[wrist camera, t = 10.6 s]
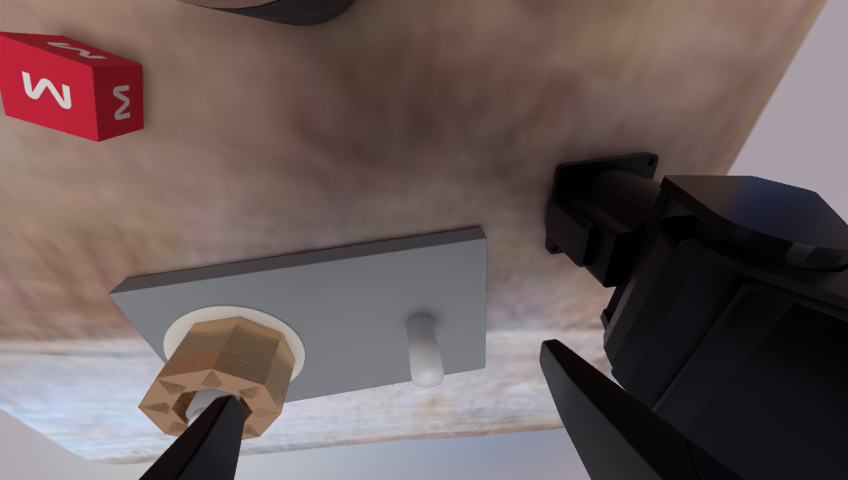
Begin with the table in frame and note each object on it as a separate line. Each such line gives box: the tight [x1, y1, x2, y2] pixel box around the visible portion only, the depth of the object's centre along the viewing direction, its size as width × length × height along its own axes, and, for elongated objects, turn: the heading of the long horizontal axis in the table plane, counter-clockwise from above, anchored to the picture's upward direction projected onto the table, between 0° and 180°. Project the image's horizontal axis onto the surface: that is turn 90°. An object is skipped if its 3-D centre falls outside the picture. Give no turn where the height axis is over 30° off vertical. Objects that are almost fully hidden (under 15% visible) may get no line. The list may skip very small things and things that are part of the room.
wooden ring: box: [138, 316, 296, 440], centre depth 20 cm, size 7×7×4 cm
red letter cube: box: [0, 32, 143, 142], centre depth 13 cm, size 3×3×3 cm
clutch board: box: [108, 227, 487, 427], centre depth 21 cm, size 23×13×7 cm, turn 95°
